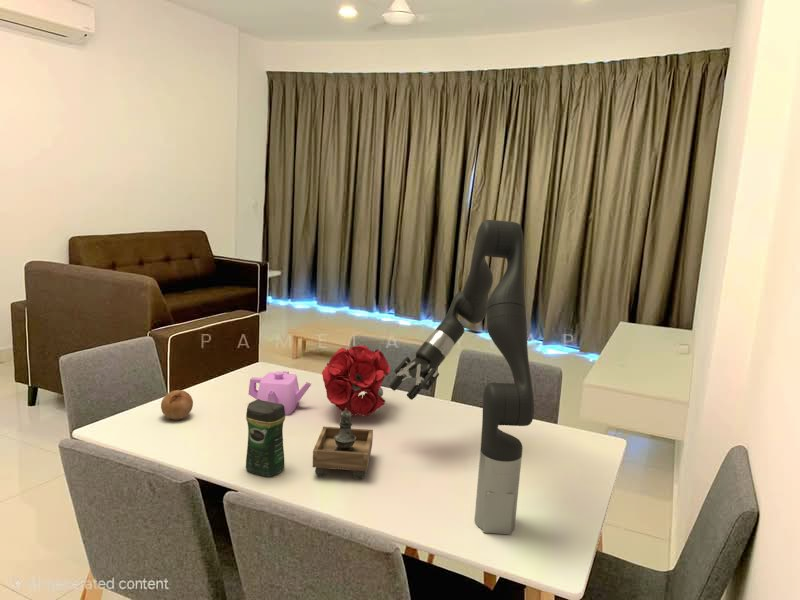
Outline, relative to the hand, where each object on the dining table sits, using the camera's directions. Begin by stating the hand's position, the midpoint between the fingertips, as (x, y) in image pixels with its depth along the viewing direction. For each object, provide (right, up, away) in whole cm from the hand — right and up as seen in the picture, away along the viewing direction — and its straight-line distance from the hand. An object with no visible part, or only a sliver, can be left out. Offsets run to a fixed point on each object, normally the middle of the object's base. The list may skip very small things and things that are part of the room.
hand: (400, 393), depth 163 cm
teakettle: (-41, -11, +34) cm, 54 cm away
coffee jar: (-36, -19, -9) cm, 41 cm away
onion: (-70, -11, +21) cm, 74 cm away
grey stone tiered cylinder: (-15, -15, -6) cm, 22 cm away
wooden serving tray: (-15, -19, -5) cm, 25 cm away
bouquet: (-14, -12, +36) cm, 40 cm away
